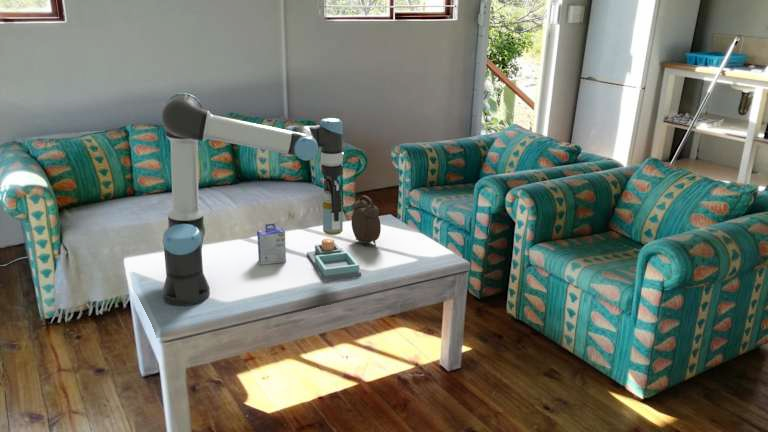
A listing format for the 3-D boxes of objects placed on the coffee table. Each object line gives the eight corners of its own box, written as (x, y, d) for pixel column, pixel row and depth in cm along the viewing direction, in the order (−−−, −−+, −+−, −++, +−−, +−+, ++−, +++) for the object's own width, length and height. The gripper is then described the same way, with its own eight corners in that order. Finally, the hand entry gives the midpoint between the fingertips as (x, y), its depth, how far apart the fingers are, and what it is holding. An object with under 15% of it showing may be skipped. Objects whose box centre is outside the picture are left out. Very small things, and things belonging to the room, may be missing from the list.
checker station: (324, 280, 237) (323, 269, 235) (307, 254, 258) (306, 244, 256) (361, 275, 241) (361, 264, 240) (341, 250, 263) (341, 241, 261)
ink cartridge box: (283, 256, 255) (282, 221, 251) (286, 262, 251) (286, 226, 246) (257, 260, 252) (256, 224, 247) (260, 265, 247) (259, 229, 242)
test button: (323, 256, 252) (323, 243, 250) (320, 251, 256) (320, 239, 255) (335, 254, 254) (335, 242, 252) (332, 250, 258) (332, 238, 256)
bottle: (346, 231, 240) (346, 191, 235) (334, 236, 235) (334, 196, 230) (331, 227, 244) (330, 188, 239) (319, 232, 238) (318, 192, 233)
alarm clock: (383, 247, 267) (384, 200, 260) (367, 250, 263) (368, 202, 257) (364, 235, 279) (365, 190, 272) (349, 238, 275) (350, 192, 268)
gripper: (350, 170, 223) (351, 233, 231) (334, 155, 241) (335, 215, 248) (329, 171, 221) (330, 236, 228) (314, 157, 238) (315, 217, 246)
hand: (332, 225), depth 238 cm, fingers closed on bottle, 7 cm apart
